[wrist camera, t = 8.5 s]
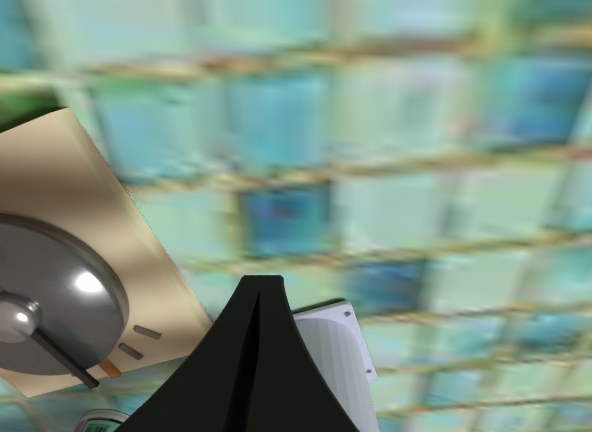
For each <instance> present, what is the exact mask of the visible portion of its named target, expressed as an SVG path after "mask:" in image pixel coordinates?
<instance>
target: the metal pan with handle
mask: <svg viewBox="0 0 592 432" xmlns="http://www.w3.org/2000/svg"><path fill="white" fill-rule="evenodd" d="M129 313H130V312H129V301H128V296H127V293H126V291H125V288H124V286H123V284H122V282H121V280H120V279H119V277H118V275H117V274H116V273H115V271H114V270H113V269H112V267H111V266H110V265H109V264H108V263H107V262H106V261H105V260H104V259H103V258H102V257H101V256H100V255H99V254H98V253H96V252H95V251H94V250H93V249H92V248H90V247H89V246H88V245H86V244H85V243H83V242H82V241H81V240H79V239H77V238H76V237H74V236H72V235H70V234H69V233H67V232H65V231H63V230H61V229H58V228H56V227H54V226H52V225H49V224H46V223H44V222H41V221H38V220H35V219H31V218H27V217H23V216H18V215H12V214H3V213H0V368H2V369H6V370H10V371H14V372H19V373H24V374H32V375H46V376H53V375H66V374H74V375H75V376H76V377H77V378H78V379H80V380H81V381H82V382H83V383H84V384H85V385H87V386H88V387H89V388H90V389H91V388H95V387H98V385H99V382H98V381H97V380H96V379H95V378H94V377H93V376H92V375H90V374H89V373H88V372H87V371H86V370H87V369H89V368H92V367H94V366H95V365H97V364H99V363H100V362H102V361H103V360H104V359H106V358H107V357H108V355H109V354H110V353H111V352H112V350H113V349H114V347H115V345H116V344H117V342H118V340H119V339H120V337H121V335H122V333H123V332H124V330H125V328H126V325H127V323H128V319H129Z"/></svg>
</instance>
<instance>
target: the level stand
mask: <svg viewBox="0 0 592 432" xmlns="http://www.w3.org/2000/svg"><path fill="white" fill-rule="evenodd" d="M0 213H3V214H12V215H18V216H23V217H27V218H31V219H35V220H38V221H41V222H44V223H46V224H49V225H52V226H54V227H56V228H58V229H61V230H63V231H65V232H67V233H69V234H70V235H72V236H74V237H76V238H77V239H79V240H81V241H82V242H83V243H85V244H86V245H88V246H89V247H90V248H92V249H93V250H94V251H95V252H96V253H98V254H99V255H100V256H101V257H102V258H103V259H104V260H105V261H106V262H107V263H108V264H109V265H110V266H111V267H112V269H113V270H114V271H115V273H116V274H117V275H118V277H119V279H120V280H121V282H122V284H123V286H124V288H125V291H126V293H127V296H128V301H129V312H130V313H129V319H128V323H127V325H126V328H125V330H124V332H123V333H122V335H121V337H120V339H119V340H118V342H117V344H116V345H115V347H114V349H113V350H112V352H111V353H110V354H109V355H108V357H107V358H106V359H104V360H103V361H102V362H100V363H99V364H97V365H95V366H94V367H92V368H89V369H87V370H86V371H87V372H88V373H89V374H90V375H92V376H93V377H94V378H95V379H96V380H97V379H101V378H105V377H108V376H110V377H111V378H114V377H118V376H120V375H121V373H124V372H127V371H131V370H135V369H139V368H143V367H146V366H150V365H154V364H158V363H161V362H165V361H169V360H173V359H177V358H180V357H184V356H188V355H190V354H191V353H192V351H193V350H194V349H195V348H196V347H197V345H198V344H199V343H200V341H201V340H202V339H203V337H204V336H205V335H206V333H207V332H208V331H209V329H210V328H211V327H212V325H213V324H214V323H213V321H212V320H211V318H210V317H209V315H208V314H207V312H206V311H205V309H204V308H203V307H202V305H201V304H200V302H199V301H198V299H197V298H196V296H195V295H194V293H193V292H192V290H191V289H190V287H189V286H188V284H187V283H186V281H185V280H184V278H183V277H182V275H181V274H180V272H179V271H178V269H177V268H176V266H175V265H174V263H173V262H172V260H171V259H170V257H169V256H168V254H167V253H166V251H165V250H164V248H163V247H162V245H161V244H160V242H159V241H158V239H157V238H156V236H155V235H154V233H153V232H152V230H151V229H150V227H149V226H148V224H147V223H146V221H145V220H144V218H143V217H142V215H141V214H140V212H139V211H138V209H137V208H136V206H135V205H134V203H133V202H132V200H131V199H130V197H129V196H128V194H127V193H126V191H125V190H124V188H123V187H122V185H121V184H120V182H119V181H118V179H117V178H116V176H115V175H114V173H113V172H112V170H111V169H110V167H109V166H108V164H107V163H106V161H105V160H104V158H103V157H102V155H101V154H100V152H99V151H98V149H97V148H96V146H95V145H94V143H93V142H92V141H91V139H90V138H89V136H88V135H87V133H86V132H85V130H84V129H83V127H82V126H81V124H80V123H79V121H78V120H77V118H76V117H75V115H74V114H73V112H72V111H71V109H70V108H69V107H68V108H65V109H61V110H58V111H55V112H51V113H49V114H46V115H44V116H41V117H39V118H37V119H34V120H32V121H29V122H27V123H25V124H22V125H20V126H17V127H15V128H12V129H10V130H8V131H5V132H3V133H0ZM0 376H1V377H2V378H3V379H5V380H6V381H7V382H8V383H10V384H11V385H12V386H13V387H15V388H16V389H17V390H18V391H20V392H21V393H22V394H24V395H25V396H26V397H27V398H29V397H33V396H36V395H40V394H44V393H48V392H52V391H55V390H59V389H63V388H67V387H71V386H74V385H78V384H82V383H83V382H82V381H81V380H80V379H78V378H77V377H76V376H75V375H74V374H66V375H53V376H46V375H32V374H24V373H19V372H14V371H10V370H6V369H2V368H0Z"/></svg>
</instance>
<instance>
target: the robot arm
mask: <svg viewBox="0 0 592 432" xmlns="http://www.w3.org/2000/svg"><path fill="white" fill-rule="evenodd" d="M347 311H348V312H347ZM345 312H347V313H345ZM376 379H377V375H376V371H375V369H374V366H373V363H372V360H371V358H370V355H369V352H368V349H367V347H366V344H365V341H364V338H363V335H362V333H361V330H360V327H359V324H358V322H357V319H356V316H355V313H354V310H353V308H352V305H351V303H350V302H348V301H342V302H338V303H334V304H330V305H327V306H323V307H319V308H316V309H312V310H308V311H305V312H301V313H297V314H293V315H292V312H291V309H290V306H289V303H288V300H287V296H286V292H285V288H284V278H283V277H282V276H281V275H244V276H243V277H242V278H241V280H240V282H239V284H238V286H237V288H236V289H235V291H234V293H233V295H232V296H231V298H230V300H229V301H228V303H227V305H226V306H225V308H224V309H223V311H222V312H221V314H220V315H219V317H218V318H217V320H216V321H215V323H214V324H213V325H212V327H211V328H210V329H209V331H208V332H207V333H206V335H205V336H204V337H203V339H202V340H201V341H200V343H199V344H198V345H197V347H196V348H195V349H194V350H193V351H192V353H191V354H190V355H189V356H188V357H187V359H186V360H185V361H184V362H183V363H182V364H181V365H180V367H179V368H178V369H177V370H176V371H175V372H174V373H173V374H172V375H171V376H170V377H169V379H168V380H167V381H166V382H165V383H164V384H163V385H162V386H161V387H160V388H159V389H158V390H157V391H156V392H155V393H154V394H153V395H152V396H151V397H150V398H149V399H148V400H147V401H146V402H145V403H144V404H143V405H142V406H141V407H139V408H138V409H137V410H136V411H135V412H134V413H133V414H132V415H131V416H130V417H128V418H127V419H126V420H125V421H124V422H123V423H122V424H121V425H120V426H118V427H117V428H116V429H115V430H114V431H113V432H380V431H379V427H378V423H377V418H376V414H375V410H374V405H373V401H372V397H371V393H370V388H369V384H368V382H372V381H375V380H376Z"/></svg>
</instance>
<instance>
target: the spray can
mask: <svg viewBox="0 0 592 432" xmlns="http://www.w3.org/2000/svg"><path fill="white" fill-rule="evenodd" d="M128 417H130V416H128V415H126V414H124V413H121V412H118V411H113V410H94V411H91V412H88V413H86V414H85V415H84V416H83V417H82V419H81V421H80V422H79V424H78V425H77V427H76V429H75V431H74V432H113V431H114V430H115V429H116V428H117V427H118V426H120V425H121V424H122V423H123V422H124V421H125V420H126V419H127V418H128Z"/></svg>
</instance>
